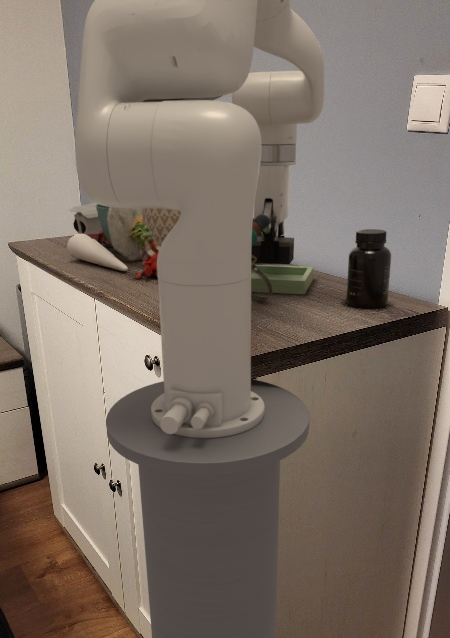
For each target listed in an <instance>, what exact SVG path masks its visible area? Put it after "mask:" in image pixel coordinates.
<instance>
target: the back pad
mask: <svg viewBox="0 0 450 638" xmlns="http://www.w3.org/2000/svg"><path fill="white" fill-rule="evenodd" d="M257 238H258V241H257V242H256V243H255V244H254V245H253V246H252V255H253V256H255V257H256V258H257V261H256V262H255V263H254V264H261V265H269V264H268V263H262V262H261V241H262V240H261V238H262V237H257ZM277 241H279V262H278V263H277V264H276V265H287V266H290V264H291V263H292V262H293V261H294V259H295V257H294V255H295V254H294V253H295V237H287V236H286V237H278V239H277ZM254 260H255V259H254V258H252V257H251V262H253V261H254Z"/></svg>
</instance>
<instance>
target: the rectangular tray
mask: <svg viewBox="0 0 450 638" xmlns="http://www.w3.org/2000/svg"><path fill="white" fill-rule="evenodd" d="M255 265H256V266H257V267H258V268H259V269H260V270H261V271H262V272H263V273H264V274H265V275H266V276H267V277H268V279H269V281H270V283H271V285H272V294H283V295H284V294H285V295H303V296H304V295H306V293H307V291H308V289H309V288H310V286H311V284H312V283H313V280H314V269H315V268H314V266H301V265H300V266H299V265H279V264H255ZM251 293H265V294H268V288H267V285H266V283H265V282H264V280H263V279H262V278H261V277H260V276H259V275H258V274H257V273H256V272H254V271H253V270H252V269H251Z"/></svg>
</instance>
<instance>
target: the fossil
mask: <svg viewBox="0 0 450 638" xmlns="http://www.w3.org/2000/svg"><path fill="white" fill-rule="evenodd" d="M138 221H139V222H141V223H143V217H142V208H115V207H109V211H108V215H107V224H108V229H109V234H110V238H111V241H112V248H113V247H114V248H113V250H114V249H115V250H116V251H115V250H114V251H115V252H117V253H118V254H119V255H121V256H122V257H123V258H124V259H126V260H128V261H130V262H132V263H133V262H137V261H142V259H141V256H140V251H139V249H138V244H137V241H136V239H134V238H133V237H132V231H131V229H132V227H133V226H134V225H135V223H136V222H138Z"/></svg>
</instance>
